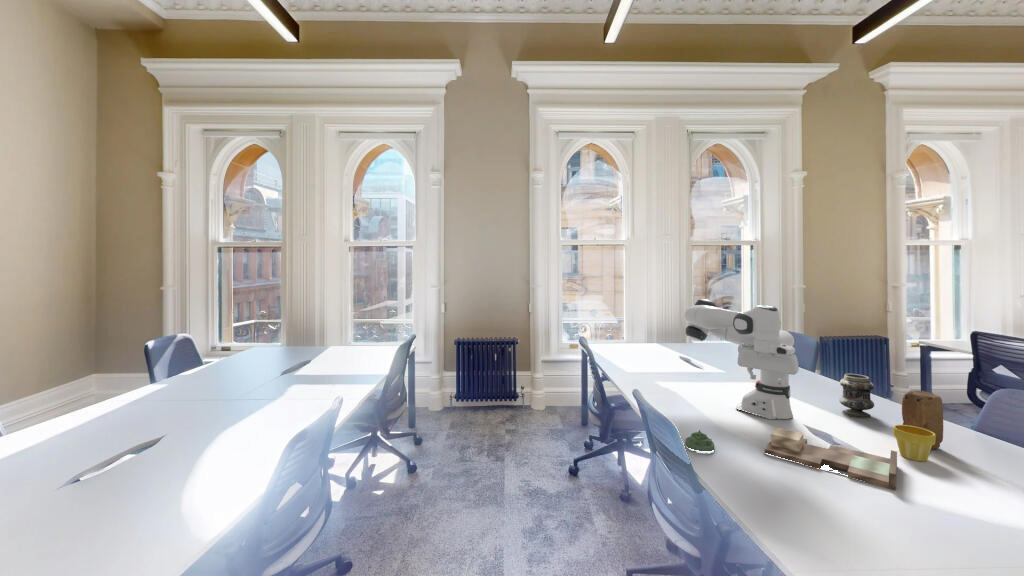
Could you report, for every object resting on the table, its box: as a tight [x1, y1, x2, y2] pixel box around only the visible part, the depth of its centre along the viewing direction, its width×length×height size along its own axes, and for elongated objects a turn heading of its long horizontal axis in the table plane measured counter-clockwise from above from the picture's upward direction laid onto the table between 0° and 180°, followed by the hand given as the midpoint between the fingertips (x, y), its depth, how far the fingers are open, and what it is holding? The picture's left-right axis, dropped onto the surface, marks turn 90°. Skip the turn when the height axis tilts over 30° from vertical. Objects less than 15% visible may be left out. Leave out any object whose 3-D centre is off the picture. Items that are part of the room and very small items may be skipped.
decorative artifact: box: [684, 429, 715, 451], centre depth 146 cm, size 10×7×10 cm
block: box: [901, 390, 944, 450], centre depth 145 cm, size 11×8×20 cm
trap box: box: [764, 437, 898, 491], centre depth 135 cm, size 34×20×5 cm, turn 44°
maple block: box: [770, 427, 804, 451], centre depth 144 cm, size 8×8×4 cm
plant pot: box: [892, 424, 936, 462], centre depth 136 cm, size 10×10×10 cm
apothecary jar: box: [838, 373, 875, 419], centre depth 177 cm, size 12×12×18 cm
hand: (766, 381), depth 151 cm, fingers open, 8 cm apart
